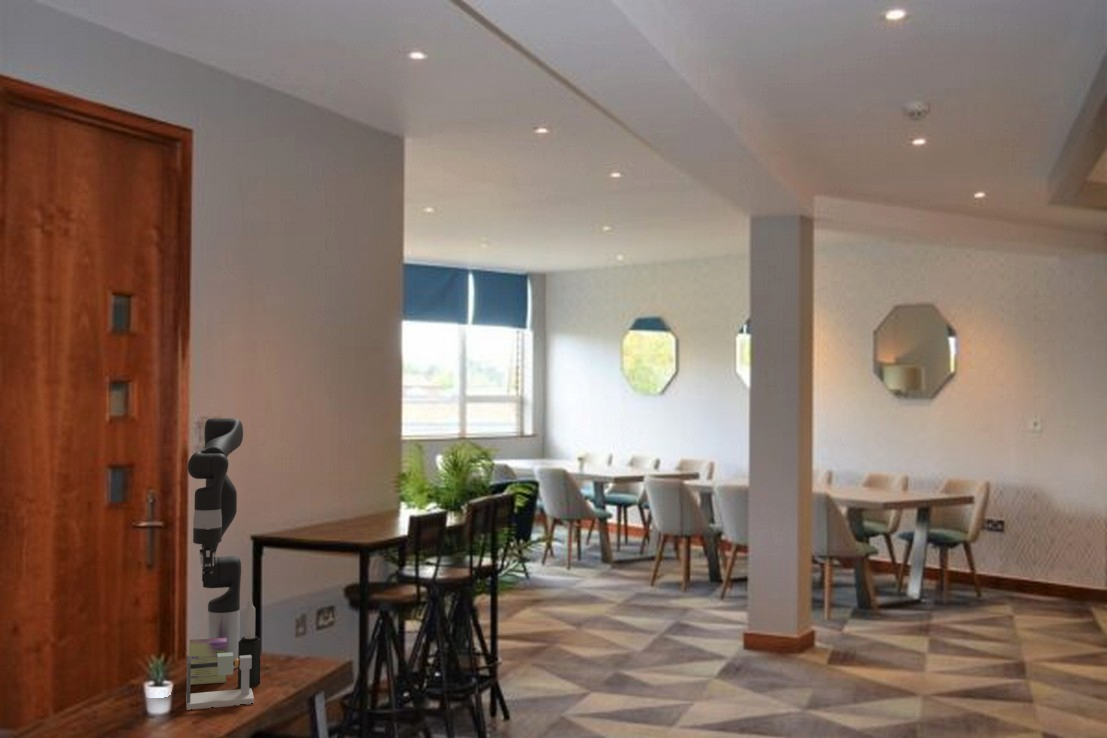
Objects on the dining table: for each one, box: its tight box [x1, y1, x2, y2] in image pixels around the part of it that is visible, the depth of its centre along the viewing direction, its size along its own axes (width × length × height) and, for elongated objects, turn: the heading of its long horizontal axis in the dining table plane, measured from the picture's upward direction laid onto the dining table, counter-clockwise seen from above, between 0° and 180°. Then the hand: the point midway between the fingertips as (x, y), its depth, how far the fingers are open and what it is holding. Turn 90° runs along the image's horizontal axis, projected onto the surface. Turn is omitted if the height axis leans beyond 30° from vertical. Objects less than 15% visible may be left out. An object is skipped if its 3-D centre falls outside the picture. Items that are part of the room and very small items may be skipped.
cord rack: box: [185, 655, 255, 711], centre depth 282 cm, size 10×17×12 cm, turn 110°
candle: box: [237, 596, 262, 689], centre depth 298 cm, size 5×5×25 cm
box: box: [188, 638, 227, 686], centre depth 302 cm, size 10×6×12 cm, turn 108°
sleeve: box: [217, 652, 234, 676], centre depth 282 cm, size 4×4×5 cm
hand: (206, 584), depth 290 cm, fingers open, 8 cm apart
